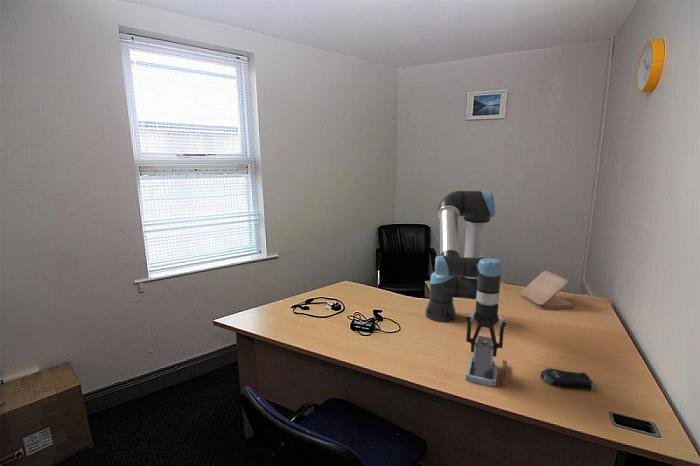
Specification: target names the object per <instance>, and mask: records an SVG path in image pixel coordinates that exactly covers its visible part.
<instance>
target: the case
mask: <svg viewBox="0 0 700 466" xmlns="http://www.w3.org/2000/svg"><path fill="white" fill-rule="evenodd" d="M568 284H569V280H568V279H566V278H564V277H562V276H560V275H558V274H556V273H553V272H552V271H549V270H544V271H542V272H541V273H540V274H538V276H536V277H535V278H534V279H533V280H532V281H531V282H530V283H528V284H527V285H526V286H525V287H523V289H522V290H521V291H520V295H521V298H522V299H524V300H525V301H527V302H528V303H530V304H532V306H535V307H537V309H541V310H558V309H559V310H560V309H574V308H575V304H573V303H572V302H569V301H567V300H566V299H563V298H562V297H559V296H557V294H558V293H559V292H560V291H561V290H562V289H564V288H565V287H566V286H567V285H568Z"/></svg>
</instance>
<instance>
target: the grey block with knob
mask: <svg viewBox="0 0 700 466" xmlns="http://www.w3.org/2000/svg"><path fill="white" fill-rule="evenodd" d="M476 342H477V344H476V351H475V366H474V368H477V369H481V370H486V371H489V369H490V357H491V346H492V345H493V343H492V339H491V337H488V336H482V335H478V336H477V339H476Z"/></svg>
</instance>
